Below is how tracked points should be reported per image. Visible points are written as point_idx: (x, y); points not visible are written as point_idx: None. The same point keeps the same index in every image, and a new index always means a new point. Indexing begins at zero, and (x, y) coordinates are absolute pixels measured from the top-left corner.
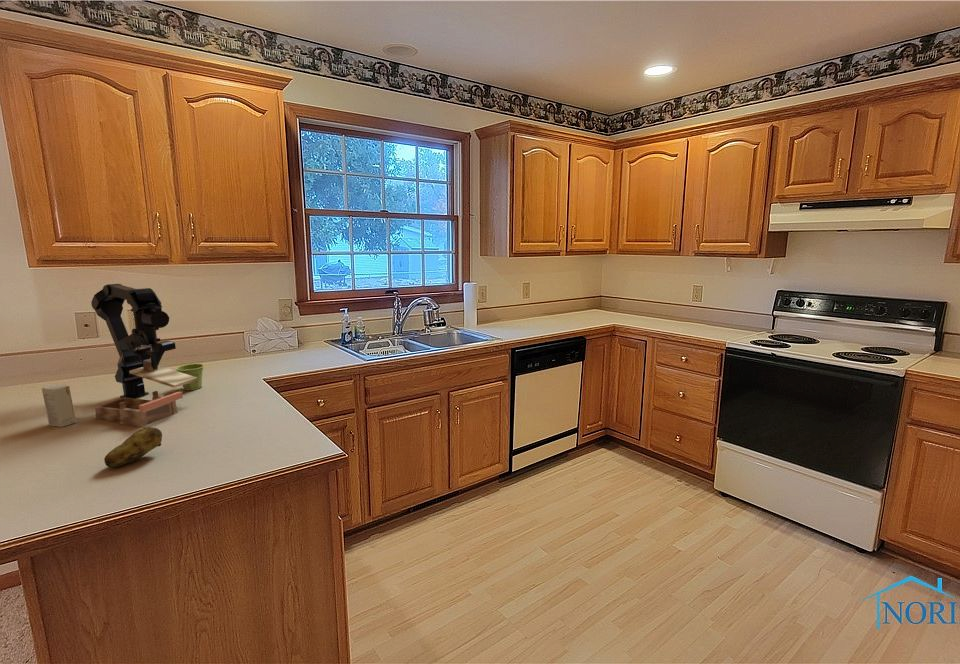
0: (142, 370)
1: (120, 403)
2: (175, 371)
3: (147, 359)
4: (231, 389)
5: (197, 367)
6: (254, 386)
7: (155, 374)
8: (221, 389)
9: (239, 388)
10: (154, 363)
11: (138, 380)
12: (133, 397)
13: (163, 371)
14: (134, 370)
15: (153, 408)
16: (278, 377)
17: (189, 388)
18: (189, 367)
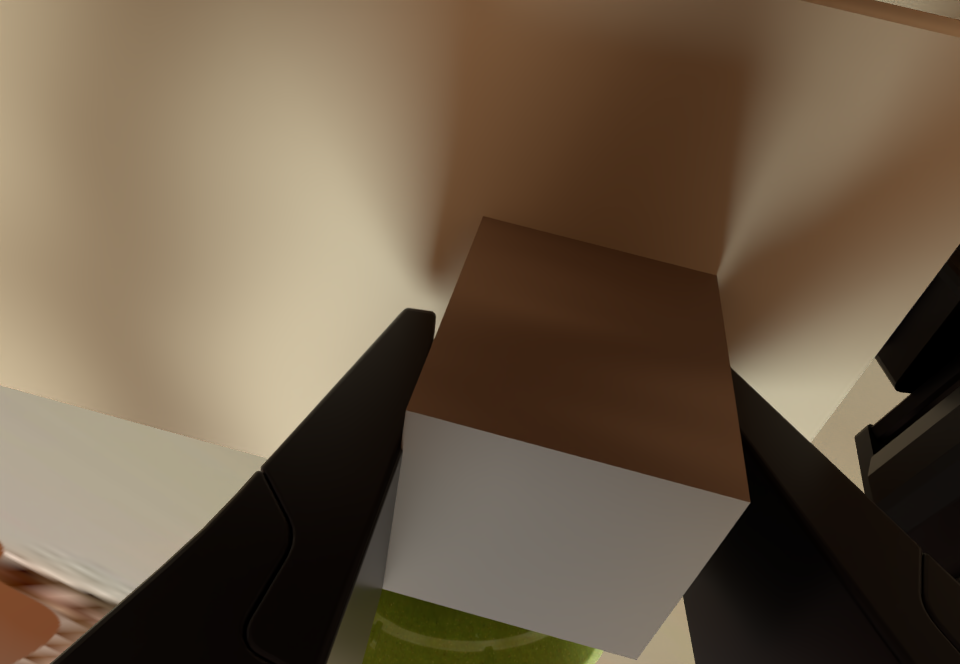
0: (707, 232)
1: None
2: (164, 411)
3: (675, 588)
4: (116, 449)
5: (473, 658)
6: (16, 509)
7: (258, 130)
8: (199, 443)
9: (78, 470)
10: (320, 426)
11: (931, 340)
12: None
13: (299, 347)
14: (921, 140)
15: None
16: (64, 632)
17: None
18: (542, 652)
